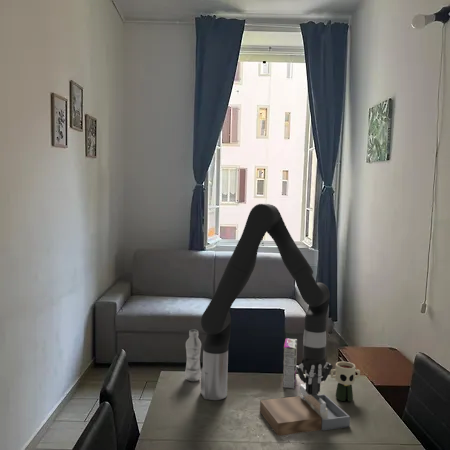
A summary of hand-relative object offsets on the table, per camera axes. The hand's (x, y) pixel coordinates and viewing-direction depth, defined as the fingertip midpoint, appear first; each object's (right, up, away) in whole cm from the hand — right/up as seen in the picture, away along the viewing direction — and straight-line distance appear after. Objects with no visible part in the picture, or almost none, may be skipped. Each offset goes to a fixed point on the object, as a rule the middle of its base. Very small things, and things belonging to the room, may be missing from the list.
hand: (312, 393), depth 153 cm
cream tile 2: (+1, -6, -3) cm, 7 cm away
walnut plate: (-8, -9, -2) cm, 12 cm away
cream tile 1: (-1, -5, +4) cm, 7 cm away
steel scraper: (0, -3, 0) cm, 3 cm away
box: (+4, -9, +2) cm, 10 cm away
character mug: (+15, -8, +15) cm, 23 cm away
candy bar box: (-4, -7, +29) cm, 30 cm away
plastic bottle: (-42, -6, +29) cm, 52 cm away
